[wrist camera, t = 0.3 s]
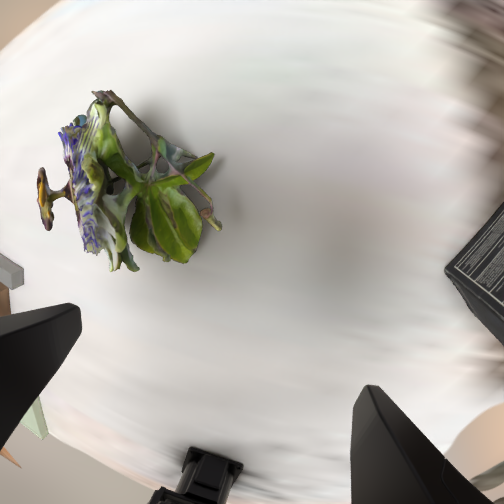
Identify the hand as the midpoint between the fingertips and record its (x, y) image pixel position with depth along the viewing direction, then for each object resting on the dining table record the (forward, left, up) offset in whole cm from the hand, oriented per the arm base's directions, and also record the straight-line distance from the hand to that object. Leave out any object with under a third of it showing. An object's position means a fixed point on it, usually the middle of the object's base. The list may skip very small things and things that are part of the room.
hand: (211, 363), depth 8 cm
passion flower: (+2, +10, -15) cm, 18 cm away
